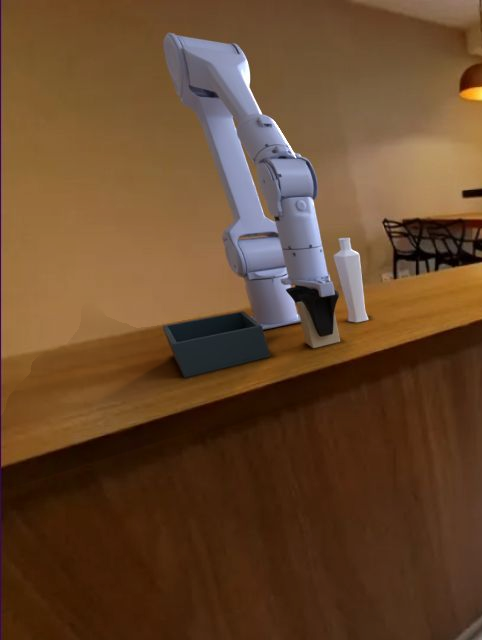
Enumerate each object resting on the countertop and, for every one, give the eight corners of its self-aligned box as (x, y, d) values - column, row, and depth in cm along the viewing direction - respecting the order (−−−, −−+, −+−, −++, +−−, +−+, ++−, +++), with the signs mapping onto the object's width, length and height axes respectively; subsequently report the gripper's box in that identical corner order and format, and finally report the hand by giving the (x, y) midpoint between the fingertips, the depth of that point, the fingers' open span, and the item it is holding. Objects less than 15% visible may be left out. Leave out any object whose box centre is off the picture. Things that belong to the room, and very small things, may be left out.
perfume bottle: (364, 323, 82) (349, 240, 76) (342, 322, 83) (327, 240, 77) (375, 316, 86) (363, 237, 80) (355, 315, 87) (341, 236, 81)
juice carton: (305, 343, 73) (293, 292, 70) (332, 336, 76) (322, 287, 72) (313, 348, 71) (301, 296, 67) (340, 341, 74) (330, 291, 70)
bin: (173, 356, 69) (162, 325, 67) (251, 339, 76) (243, 311, 73) (184, 377, 61) (172, 344, 59) (270, 356, 68) (261, 325, 66)
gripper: (260, 245, 69) (281, 327, 75) (289, 255, 59) (311, 349, 65) (306, 240, 73) (323, 318, 79) (340, 249, 64) (356, 337, 69)
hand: (320, 331), depth 73 cm, fingers open, 4 cm apart
